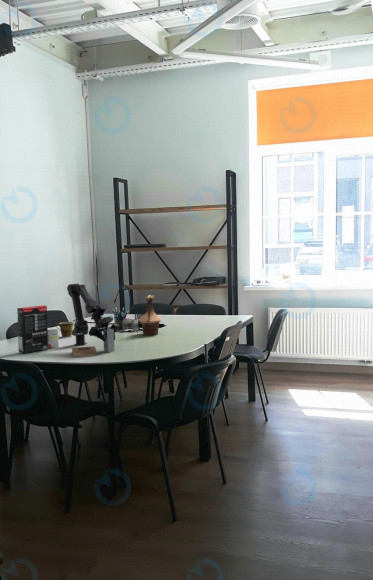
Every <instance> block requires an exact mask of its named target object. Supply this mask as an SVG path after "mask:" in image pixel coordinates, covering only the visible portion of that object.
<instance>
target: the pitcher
mask: <svg viewBox="0 0 373 580" xmlns="http://www.w3.org/2000/svg"><path fill="white" fill-rule="evenodd" d="M154 297H155V295H151V294H149V295H147V296H146V297H145V300H146V302H147V311H146V312H145V313H144V314H143V315H142V316H141V317H140V318H138V320H137V321H139V322H140V323H141V329H142V335H143V336H155V335H158V334H159V327H160V322H161V321H162V320H163V319H162V318H161V317H160V316H158V315H157V314H156V312H155V310H154V307H153V300H154Z"/></svg>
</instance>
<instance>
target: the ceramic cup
mask: <svg viewBox="0 0 373 580" xmlns="http://www.w3.org/2000/svg"><path fill="white" fill-rule="evenodd" d="M74 324H75V321H62V322H59V323H55V328H58V327H57V325H58V326H59V328H58V331H59V332H60V333H61V337H62V338H63V337H68V338H72V337H73V335H72V331H73V329H74Z"/></svg>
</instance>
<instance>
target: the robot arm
mask: <svg viewBox="0 0 373 580" xmlns="http://www.w3.org/2000/svg"><path fill="white" fill-rule="evenodd" d="M66 290H67V292H68V293H67V294H68V295H69V297H70V298H71V300H72V306H73V313H74V317H75V321H74V326H73V331H72V337H73V336H74V337H75V343H74V346H84V345H86V344H87V342H86V337H85V336H86V335H89V336H90V337H96V338H98V339H99V340H101V341H102V342H103V343H104V342H105V341H106V340H105V338H104V336H103V330H105V329H114V341H116V333H117V332H118V330H119V328H120V324H119V323H112V322H113V321H114V317H113V316H112V315H109V316H104V315H105V314H106V313H107V310H108V307H109V305H108V304H107V303H105V302H103V301H102V300H100V301H98V302H97V301H96V300H94V299H93V298H92V296H91V295H90V293H89V291H88V290H87V288H86V285H85V284H80V283H70V284H68V286H67V287H66ZM80 297H81V298H80ZM81 299H82V301H83V302H84V304H85V310H86V312H87V314H91V317H90V320H93V322H94V323H95V324H94V326H91V327H90V329H89V324H88V321H87V320H86V319H85V318H84V313H83V309H82V302H81ZM110 323H112V324H111V325H110Z"/></svg>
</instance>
